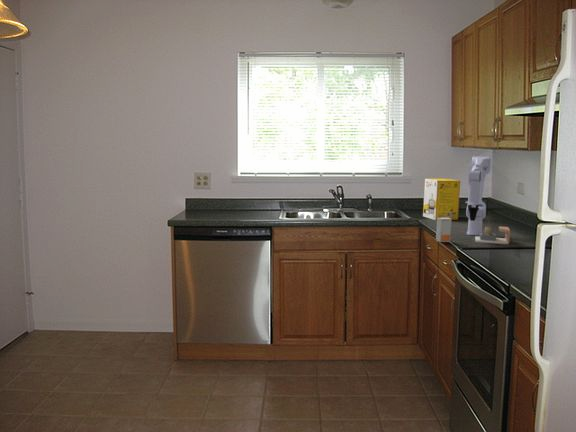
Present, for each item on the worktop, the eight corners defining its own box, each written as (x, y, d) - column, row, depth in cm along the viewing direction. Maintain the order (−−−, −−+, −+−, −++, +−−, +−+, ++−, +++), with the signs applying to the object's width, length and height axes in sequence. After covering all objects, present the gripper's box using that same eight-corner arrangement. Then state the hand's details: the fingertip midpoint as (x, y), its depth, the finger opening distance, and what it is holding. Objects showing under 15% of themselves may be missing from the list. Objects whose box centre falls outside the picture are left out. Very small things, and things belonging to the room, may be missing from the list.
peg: (484, 238, 314) (484, 226, 313) (490, 238, 313) (491, 227, 312) (484, 239, 310) (485, 227, 310) (490, 239, 310) (491, 228, 309)
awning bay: (475, 238, 319) (475, 225, 318) (507, 240, 315) (508, 227, 314) (475, 242, 308) (476, 228, 307) (509, 244, 303) (510, 230, 302)
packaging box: (422, 216, 400) (424, 178, 396) (444, 216, 404) (447, 178, 400) (435, 220, 384) (437, 180, 381) (457, 219, 388) (460, 180, 385)
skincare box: (439, 242, 304) (441, 218, 302) (435, 240, 308) (436, 217, 307) (450, 242, 306) (451, 218, 304) (446, 240, 310) (447, 217, 308)
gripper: (466, 192, 323) (464, 217, 325) (466, 194, 309) (464, 221, 311) (479, 192, 321) (478, 218, 323) (480, 195, 308) (478, 221, 309)
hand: (472, 219), depth 317 cm, fingers open, 7 cm apart
